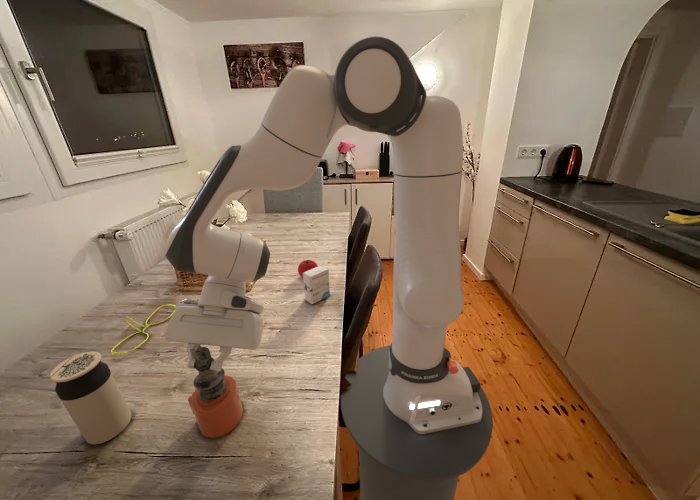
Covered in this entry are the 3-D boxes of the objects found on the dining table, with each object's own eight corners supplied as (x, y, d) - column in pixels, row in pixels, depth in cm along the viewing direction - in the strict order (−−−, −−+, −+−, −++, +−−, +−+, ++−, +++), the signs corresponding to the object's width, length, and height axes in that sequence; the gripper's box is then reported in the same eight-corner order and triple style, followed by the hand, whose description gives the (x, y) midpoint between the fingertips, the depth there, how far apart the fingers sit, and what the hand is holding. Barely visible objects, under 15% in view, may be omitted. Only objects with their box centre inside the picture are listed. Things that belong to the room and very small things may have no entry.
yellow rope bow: (131, 357, 80) (125, 344, 79) (98, 357, 81) (92, 344, 79) (182, 306, 103) (178, 295, 101) (156, 306, 104) (152, 295, 102)
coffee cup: (248, 399, 67) (241, 372, 63) (233, 437, 59) (225, 409, 55) (205, 399, 67) (196, 373, 64) (184, 437, 59) (172, 409, 55)
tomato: (317, 281, 118) (316, 264, 115) (296, 281, 118) (294, 264, 115) (320, 271, 126) (318, 255, 123) (300, 271, 126) (298, 255, 123)
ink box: (322, 291, 111) (320, 264, 106) (330, 296, 107) (329, 268, 103) (304, 299, 106) (301, 272, 101) (312, 305, 102) (309, 277, 97)
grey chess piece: (224, 374, 63) (212, 331, 58) (231, 391, 59) (218, 347, 54) (195, 387, 60) (180, 344, 55) (200, 407, 56) (184, 362, 51)
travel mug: (140, 410, 65) (112, 350, 58) (112, 445, 58) (76, 382, 51) (107, 409, 65) (75, 350, 58) (75, 445, 58) (34, 381, 51)
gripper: (169, 294, 60) (146, 364, 55) (258, 301, 57) (242, 375, 52) (188, 300, 66) (169, 363, 61) (270, 307, 63) (257, 374, 58)
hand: (203, 369), depth 56 cm, fingers closed on grey chess piece, 4 cm apart
